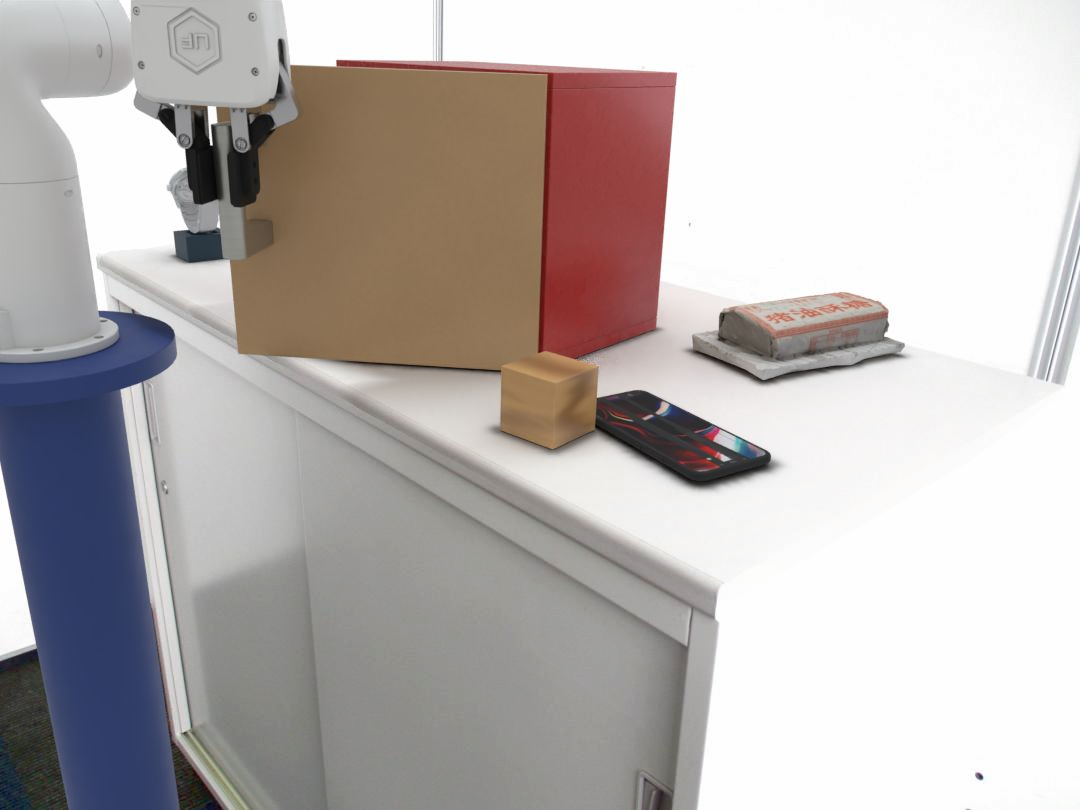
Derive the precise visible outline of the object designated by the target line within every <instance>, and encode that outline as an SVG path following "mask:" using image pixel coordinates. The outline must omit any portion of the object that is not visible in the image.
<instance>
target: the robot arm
mask: <svg viewBox="0 0 1080 810" xmlns="http://www.w3.org/2000/svg"><path fill="white" fill-rule="evenodd" d="M120 1H121V0H0V363H13V364H22V363H44V362H53V361H60V360H66V359H72V358H77V357H81V356H85V355H89V354H92V353H96V352H98V351H101V350H103V349H106V348H108V347H109V346H111V345H113V344H114V343H115V342H116V341H117V340H118V338H119V329H118V326H117V324H116V323H114V322H113V321H111V320H109V319H106V318H102V317H99V312H98V311H99V306H98V299H97V292H96V286H95V278H94V271H93V264H92V258H91V257H92V256H91V251H90V244H89V238H88V237H89V236H88V230H87V224H86V223H87V222H86V217H85V210H84V203H83V196H82V190H81V183H80V177H79V170H78V164H77V163H78V162H77V159H76V158H77V157H76V154H75V151H74V148H73V146H72V144H71V141H70V139H69V138H68V136H67V134H66V132H65V131H64V130H63V128H62V127H61V126H60V124H58V122H57V121H56V119H55V118H54V117H53V116H52V114H51V113H50V112H49V110H48V109H47V108H46V106H45V105H44V104H43V102H42V100H49V99H74V98H75V99H76V98H93V97H95V98H96V97H104V96H111V95H115V94H116V93H119V92H121V91H122V90H124V89H126V88H127V87H128V86H129V85H130V84H131V83H132V82H133V81H134V85H135V88H136V91H135V95H134V98H133V106H134V108H135V109H136V110H138V111H140V112H141V113H143V114H145V115H147V116H149V117H151V118H152V119H155V120H158V121H160V123H161V124H162V125H163V126H164V127H165V128H166V129H167V131H169V132H170V134H171V135H172V136H174V137H175V140H176V143H177V145H178V146H179V147H180V148H181V149H184V153H185V165H186V168H187V177H188V186H189V189H190V190H191V191H192V192H193V202H194V204H198V205H203V204H206V203H209V202H212V201H215V200H217V188H216V177H215V166H214V156H213V145H212V144H211V138H210V123H209V121H210V120H209V107H215V108H216V107H230V116H231V126H232V136H233V151H232V152H228V154H227V165H228V178H229V191H230V203H231V205H233V207H239V208H242V207H244V206H247V205H249V204H252V203H255V202H256V199H257V194H259V192H260V173H259V157H258V149H259V148H261V147H262V146H263V145H264V142H265V141H266V140H267V139H268V138H269V137H270V136H271V134H272V133H273V132H274V131H275V130H276V129H277V128H279V127H281V126H284V125H286V124H288V123H291V122H293V121H295V120H298V119H300V118H301V117H302V116H303V114H304V111H303V108H302V106H301V104H300V101H299V99H298V97H297V95H296V92H295V90H294V88H293V86H292V83H291V68H290V65H291V59H290V57H291V56H290V48H289V39H288V29H287V24H286V23H287V22H286V17H285V12H284V10H285V9H284V5H283V1H282V0H130V18H129V16H128V14H127V12H126V10H125V8H124V6H123V4H122V3H121V2H120ZM264 104H276V106H275V108H274V109H272V110H270V111H268V112H266V113H264V114H262V108H261V105H264Z"/></svg>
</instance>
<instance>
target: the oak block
mask: <svg viewBox="0 0 1080 810" xmlns="http://www.w3.org/2000/svg"><path fill="white" fill-rule="evenodd" d="M599 370H600V369H599V366H598V365H596V364H592V363H589V362H585V361H582V360H579V359H576V358H574V359H572V358H568V357H565V356H561V355H558V354H554V353H551V352H548V351H544V352H541V353H538V354H535V355H532V356H529V357H526V358H524V359H521V360H518V361H515V362H512V363H509V364H506V365H503V366H501V370H500V408H499V409H500V413H499V415H500V417H499V431H501V432H503V433H506V434H509V435H512V436H515V437H517V438H520V439H523V440H526V441H528V442H531V443H533V444H536V445H539V446H542V447H544V448H546V449H547V448H548V449H550V450H555V449H556V448H559V447H561V446H563V445H566V444H567V443H570V442H572V441H575V440H576V439H578V438H580V437H583V436H585V435H587V434H589V433H592V432H593V431H595V430H596V424H595V420H596V404H597V398H598V387H599V386H598V383H599Z"/></svg>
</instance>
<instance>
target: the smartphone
mask: <svg viewBox="0 0 1080 810" xmlns="http://www.w3.org/2000/svg"><path fill="white" fill-rule="evenodd" d="M595 426H598V427H599V428H601V429H603V430H604V431H606V432H608V433H609V434H611V435H613V436H615V437H616V438H618V439H619V440H621V441H624V442H625V443H627V444H628V445H631V446H632V447H634V448H635V449H637V450H639V451H641V452H643V453H645V454H646V455H647V456H650V457H651V458H653V459H654V460H656V461H658V462H660V463H662V464H663V465H664V466H667V467H668V468H670V469H672V470H674V471H675V472H677V473H679V474H680V475H682V476H684V477H685V478H687V479H689V480H692V481H695V482H706V481H711V480H714V479H717V478H721V477H725V476H729V475H732V474H736V473H739V472H743V471H747V470H750V469H754V468H757V467H760V466H764V465H767V464H769V463H770V461H771V460H772V454H771V452H770V451H769V450H767V449H766V448H763V447H761V446H759V445H757V444H755V443H753V442H751V441H749V440H747V439H744V438H742V437H741V436H739V435H736V434H735V433H733V432H730V431H729V430H727V429H724V428H723V427H720V426H719V425H716V424H714V423H712V422H710V421H708V420H706V419H704V418H703V417H700V416H698V415H695V414H694V413H692V412H690V411H687V410H686V409H684V408H681V407H679V406H677V405H676V404H674V403H671V402H669V401H667V400H665V399H664V398H661V397H659V396H657V395H655V394H653V393H651V392H649V391H647V390H642V389H633V390H627V391H623V392H618V393H613V394H609V395H604V396H600V397H598V396H597V404H596V420H595Z"/></svg>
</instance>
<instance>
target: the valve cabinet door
mask: <svg viewBox="0 0 1080 810" xmlns="http://www.w3.org/2000/svg"><path fill="white" fill-rule="evenodd" d="M290 68H291V83H292V86H293V88H294V90H295V92H296V95H297V97H298V99H299V101H300V104H301V106H302V108H303V111H304V114H303V116H302V117H301V118H300V119H298V120H295V121H293V122H291V123H288V124H286V125H284V126H281V127H279V128H277V129H276V130H275V131H274V132H273V133H272V134H271V136H270V137H269V138H268V139H267V140H266V141H265V142H264V145H263V146H262V147H261V148H259V149H258V157H259V173H260V192H259V194H257V199H256V202H255V203H252V204H249V205H247V206H244V207H242V208H239V207H233V205H231V203H230V191H229V178H228V165H227V154H228V152H232V151H233V136H232V126H231V116H230V107H215V110H216V112H215V113H216V121H217V122H214V123H211V124H210V134H211V143H212V144H211V145H213V156H214V166H215V177H216V188H217V199H218V209H219V217H218V219H219V228H220V231H221V242H222V253H223V258H222V259H224V260H229V264H230V265H229V266H230V278H231V279H230V280H231V289H232V300H233V310H234V312H233V313H234V322H235V335H236V344H237V354H238V355H250V356H267V357H280V358H281V357H282V358H296V359H297V358H299V359H313V360H314V359H315V360H331V361H347V362H360V363H361V362H363V363H377V364H379V363H380V364H392V365H393V364H395V365H409V366H410V365H412V366H425V367H426V366H429V367H443V368H459V369H472V370H473V369H475V370H489V371H491V370H493V371H501V366H503V365H506V364H509V363H512V362H515V361H518V360H521V359H524V358H526V357H529V356H532V355H535V354H538V343H539V313H540V284H541V254H542V225H543V195H544V166H545V137H546V107H547V78H548V75H547V74H522V73H496V72H469V71H443V70H417V69H390V68H364V67H338V66H336V65H334V66H333V65H312V64H311V65H310V64H309V65H308V64H290ZM275 106H276V104H264V105H261V108H262V114H264V113H266V112H268V111H270V110H272V109H274V108H275Z"/></svg>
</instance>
